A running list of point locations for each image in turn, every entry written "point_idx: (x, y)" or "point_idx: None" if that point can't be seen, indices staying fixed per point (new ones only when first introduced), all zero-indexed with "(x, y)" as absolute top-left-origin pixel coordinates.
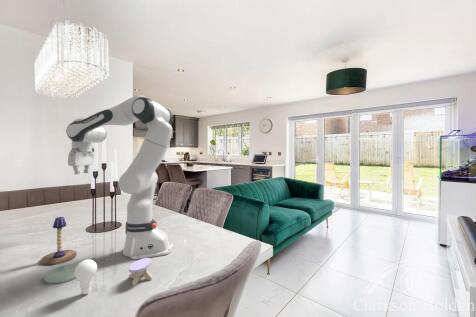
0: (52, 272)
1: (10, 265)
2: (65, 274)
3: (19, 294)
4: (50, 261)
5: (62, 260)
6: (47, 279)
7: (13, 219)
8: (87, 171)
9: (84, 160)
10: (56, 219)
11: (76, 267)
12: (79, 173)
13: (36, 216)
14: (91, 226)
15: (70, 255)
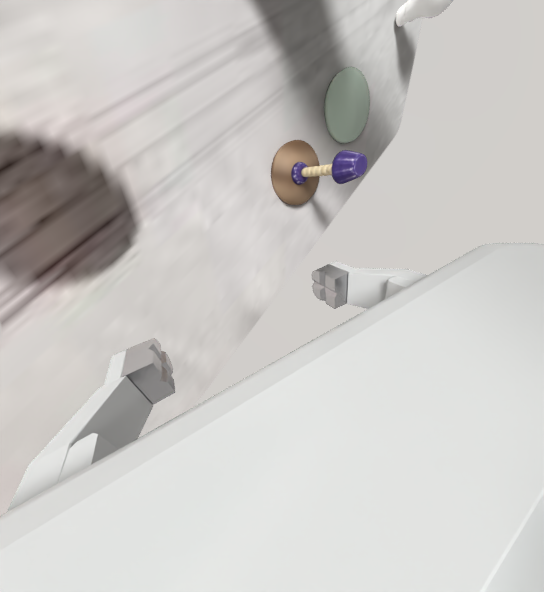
0: (349, 132)
1: (312, 238)
2: (358, 99)
3: (375, 145)
4: None
5: (313, 150)
6: (365, 123)
7: None
8: (136, 355)
9: (428, 409)
10: (365, 167)
11: (451, 1)
12: (317, 270)
13: None
14: (74, 271)
15: (297, 148)
